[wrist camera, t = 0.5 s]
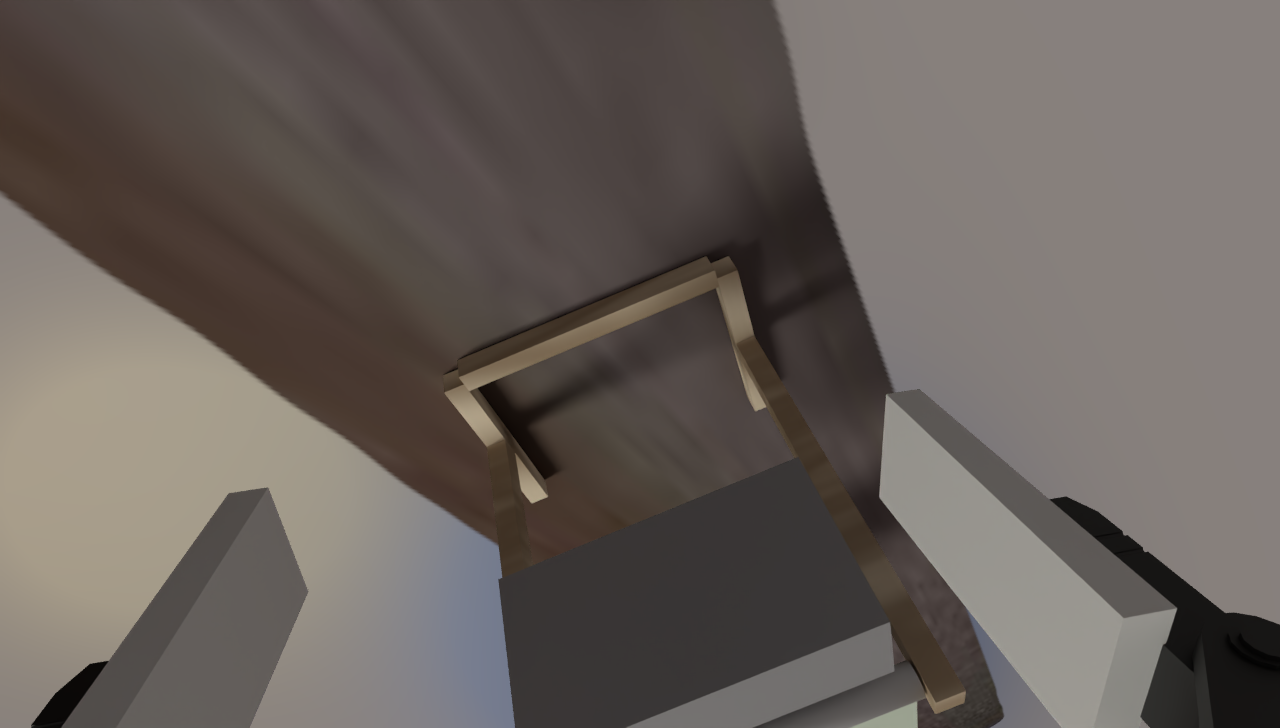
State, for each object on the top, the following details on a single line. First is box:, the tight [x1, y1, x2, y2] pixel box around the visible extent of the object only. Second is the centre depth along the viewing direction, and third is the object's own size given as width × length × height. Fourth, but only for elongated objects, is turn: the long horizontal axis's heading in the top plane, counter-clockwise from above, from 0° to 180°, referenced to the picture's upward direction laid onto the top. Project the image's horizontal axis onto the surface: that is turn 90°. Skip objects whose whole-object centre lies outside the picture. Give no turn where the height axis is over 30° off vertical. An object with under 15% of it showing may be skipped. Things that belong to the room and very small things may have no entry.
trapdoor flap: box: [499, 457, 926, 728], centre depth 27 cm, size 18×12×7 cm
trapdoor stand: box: [443, 256, 966, 714], centre depth 28 cm, size 10×15×19 cm
